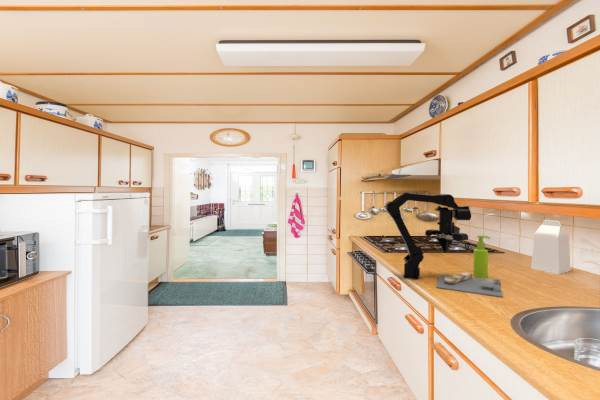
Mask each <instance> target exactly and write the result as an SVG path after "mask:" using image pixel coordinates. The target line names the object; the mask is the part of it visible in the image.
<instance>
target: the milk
mask: <svg viewBox="0 0 600 400" xmlns="http://www.w3.org/2000/svg"><path fill="white" fill-rule="evenodd" d="M532 242H533V243H532V252H531V253H532V254H531V266H530V269H531V268H532V270H535V271H536V270H537V271H541V272H547V273H549V274H550V273H551V274H555V275H561V273H562V274H566V273H569V272H568V271H570V272H571V252H570V236H569V234H568V232H567V230H565V229H564V228H563V226H562V224H561V222H560V220H554V219H553V220H552V219H551V220H550V219H543V221H542V223H541V224H540V226H539V227H538V228H537V230H536V231H534V235H533V241H532ZM565 272H566V273H565Z"/></svg>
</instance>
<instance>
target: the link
mask: <svg viewBox="0 0 600 400" xmlns="http://www.w3.org/2000/svg"><path fill="white" fill-rule="evenodd" d="M470 278H473V273H470V272H467V271H466V272H462V273H459V274H455V275H454V276H448V277H445V283H447V284H455V283H457V282H460V281H464V280H467V279H470Z"/></svg>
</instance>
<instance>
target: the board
mask: <svg viewBox="0 0 600 400" xmlns="http://www.w3.org/2000/svg"><path fill="white" fill-rule="evenodd" d="M448 276H454V275H453V274H445V273H439V276H438V279H437V284H436V286H435V288H436V289H440V290H449V291H455V292H462V293H467V294H468V293H469V294H476V295H483V296H489V297H497V298H504V295H503V292H502V291H501V292H498V291H494V290H493V284H486V283H482V282H481V278H478V277H472V278H470V279H467V280H464V281H460V282H457V283H455V284H447V283H445V277H448Z"/></svg>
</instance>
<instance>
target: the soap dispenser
mask: <svg viewBox="0 0 600 400" xmlns="http://www.w3.org/2000/svg"><path fill="white" fill-rule="evenodd" d="M476 238H478V241H477V242H476V248H473V277H474V278H479V279H481V277H482V278H489V277H488V275H489V273H488V272H489V270H488V269H489V267H488V265H489V263H488V261H489V260H488V259H489V250H488V249H486V242H484V239H488V240H489V239H491V236H486V235H477V236H476Z"/></svg>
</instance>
